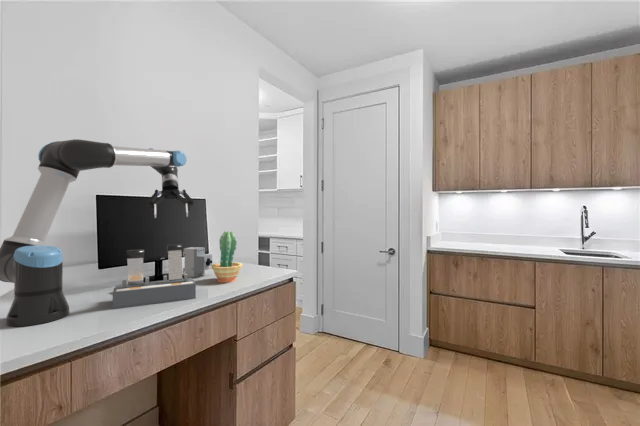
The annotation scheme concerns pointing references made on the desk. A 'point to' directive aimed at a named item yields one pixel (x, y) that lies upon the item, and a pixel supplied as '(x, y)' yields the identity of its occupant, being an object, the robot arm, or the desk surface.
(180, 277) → the right lever
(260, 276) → the desk surface
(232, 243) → the potted cactus
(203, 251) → the circuit breaker
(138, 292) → the switch base
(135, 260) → the left lever
